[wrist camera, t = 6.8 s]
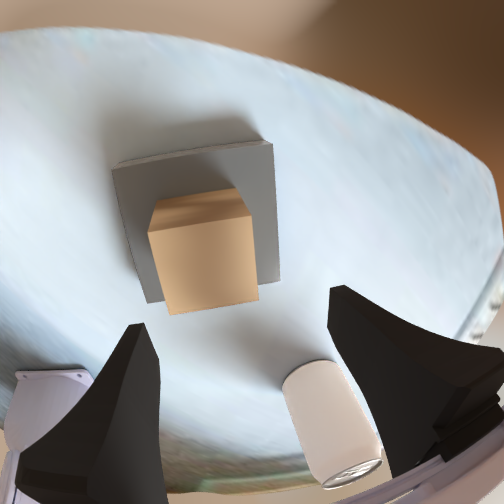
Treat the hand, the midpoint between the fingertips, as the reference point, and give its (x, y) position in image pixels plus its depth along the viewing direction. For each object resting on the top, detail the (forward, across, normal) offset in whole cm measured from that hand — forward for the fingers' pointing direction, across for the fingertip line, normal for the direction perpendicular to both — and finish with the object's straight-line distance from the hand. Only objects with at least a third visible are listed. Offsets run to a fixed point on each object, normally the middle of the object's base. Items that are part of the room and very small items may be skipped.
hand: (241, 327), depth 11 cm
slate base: (+10, +1, -1) cm, 10 cm away
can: (+10, -7, +18) cm, 22 cm away
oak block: (+8, +1, -1) cm, 8 cm away
